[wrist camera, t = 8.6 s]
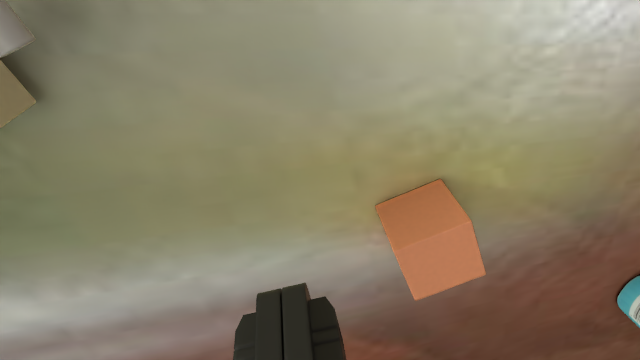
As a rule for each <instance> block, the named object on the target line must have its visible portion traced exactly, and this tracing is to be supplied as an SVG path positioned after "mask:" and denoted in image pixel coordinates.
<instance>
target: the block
mask: <svg viewBox="0 0 640 360" xmlns="http://www.w3.org/2000/svg"><path fill="white" fill-rule="evenodd" d="M375 207H376V210H377V212H378V215H379V217H380V220H381V222H382V225H383V227H384V230H385V232H386V234H387V237H388V239H389V242H390V244H391V247H392V249H393V252H394V254H395V256H396V258H397V261H398V263H399V265H400V268H401V270H402V272H403V274H404V277H405V279H406V281H407V283H408V286H409V288H410V290H411V293H412V295H413V297H414V299H415V301H417V300H420V299H422V298H425V297H428V296H430V295H433V294H436V293H438V292H441V291H443V290H446V289H449V288H451V287H454V286H457V285H459V284H462V283H465V282H467V281H470V280H472V279H475V278H478V277H480V276H483V275H486V272H485V268H484V265H483V261H482V257H481V254H480V250H479V246H478V243H477V239H476V236H475V232H474V228H473V225H472V221H471V220H470V218H469V217H468V215H467V214H466V213H465V211H464V210H463V209H462V207H461V206H460V204H459V203H458V202H457V200H456V199H455V198H454V196H453V195H452V193H451V192H450V191H449V189H448V188H447V187H446V185H445V184H444V183H443V181H442V180H441V179H438V180H436V181H434V182H431V183H429V184H426V185H424V186H422V187H419V188H417V189H414V190H412V191H409V192H407V193H405V194H402V195H400V196H397V197H395V198H392V199H390V200H388V201H385V202H383V203H380V204H378V205H375Z"/></svg>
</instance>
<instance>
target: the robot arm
mask: <svg viewBox="0 0 640 360" xmlns="http://www.w3.org/2000/svg"><path fill="white" fill-rule="evenodd" d="M234 349H235V351H234V356H233V360H346V355H345V350H344V344H343V339H342V335H341V332H340V328H339V324H338V320H337V317H336V313H335V309H334V307H333V306H332V305H331V304H330V302H329V301H328V300H327V298H326V297H321V298H316V299H312V300H311V298H310V295H309V291H308V288H307V285H306V283H302V284H298V285H293V286H289V287H284V288H282V289H276V290H272V291H267V292H263V293H259V294H257V300H256V312H255V313H251V314H246V315H243V317H242V319H241V321H240V323H239V325H238V327H237V329H236V331H235V344H234Z"/></svg>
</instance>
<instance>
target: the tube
mask: <svg viewBox="0 0 640 360" xmlns="http://www.w3.org/2000/svg"><path fill="white" fill-rule="evenodd" d="M617 303H618V306H619V308H620V309H621V310H622V311H623V312H624V313H625V314H626V315H627V316H628V317H629V318H630V319H631V320H632V321H633V322H634V323H635V324H636V325H637V326H638V327H639V328H640V275H639V276H637V277H636V278H634V279H633V280H631V281H630V282H629V283H628V284H627V285H626V286H625V287H624V288H623V289H622V291H621V292H620V294H619V296H618V298H617Z"/></svg>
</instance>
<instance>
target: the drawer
mask: <svg viewBox="0 0 640 360" xmlns="http://www.w3.org/2000/svg"><path fill="white" fill-rule="evenodd" d="M35 40H36V39H35V37H34V36H33V34H32V33H31V32H30V31H29V29H28V28H27V27H26V26H25V24H24V23H23V22H22V21H21V19H20V18H19V17H18V16H17V14H16V13H15V12H14V10H13V9H12V8H11V7H10V5H9V4H8V3H7V2H6V0H0V57H4V56H6V55H8V54H10V53H12V52H14V51H16V50H18V49H20V48H22V47H24V46H26V45H28V44H30V43H32V42H34V41H35ZM35 103H36V100H35V99H34V98H33V97H32V96H31V95H30V93H29V92H28V91H27V90H26V89H25V88H24V87H23V85H22V84H21V83H20V82H19V81H18V80H17V78H16V77H15V76H14V75H13V74H12V73H11V72H10V70H9V69H8V68H7V67H6V66H5V65H4V64H3V62H2V61H1V60H0V128H1V127H3V126H4V125H6V124H7V123H8V122H10V121H11V120H13V119H14V118H15V117H17V116H18V115H20V114H21V113H22V112H24V111H25V110H27V109H28V108H29V107H31V106H32V105H34V104H35Z"/></svg>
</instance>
